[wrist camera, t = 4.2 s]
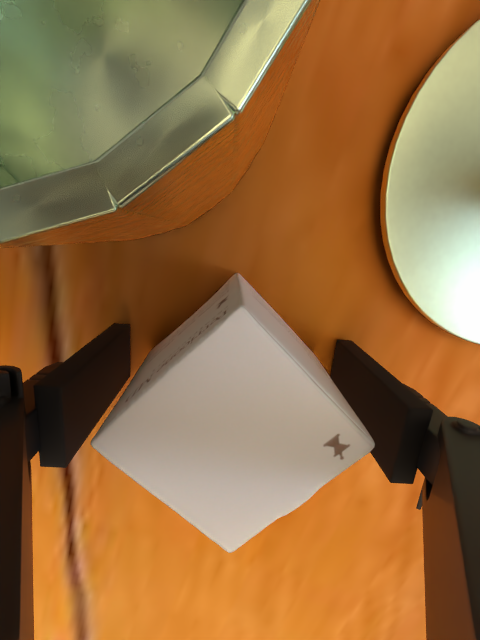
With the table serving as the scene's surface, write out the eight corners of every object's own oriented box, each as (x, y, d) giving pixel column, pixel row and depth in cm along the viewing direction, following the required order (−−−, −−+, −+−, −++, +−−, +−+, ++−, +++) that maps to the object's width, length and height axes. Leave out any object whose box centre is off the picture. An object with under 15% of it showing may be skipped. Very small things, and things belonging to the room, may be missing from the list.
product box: (237, 267, 15) (245, 298, 8) (316, 355, 16) (385, 449, 9) (147, 350, 16) (81, 445, 9) (229, 427, 17) (230, 563, 10)
